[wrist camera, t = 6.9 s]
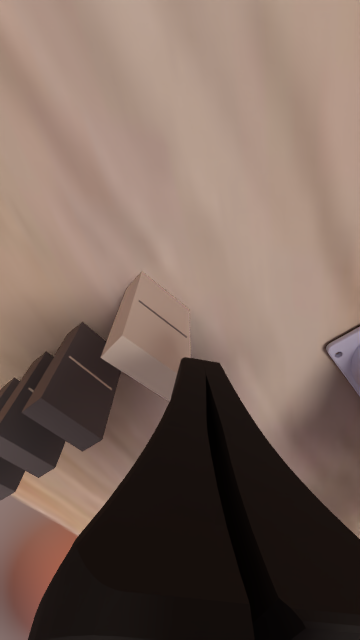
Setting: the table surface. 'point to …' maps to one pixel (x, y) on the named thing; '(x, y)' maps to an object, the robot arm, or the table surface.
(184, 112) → the table surface
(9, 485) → the tile
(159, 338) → the ivory tile
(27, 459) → the tile
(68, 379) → the tile
